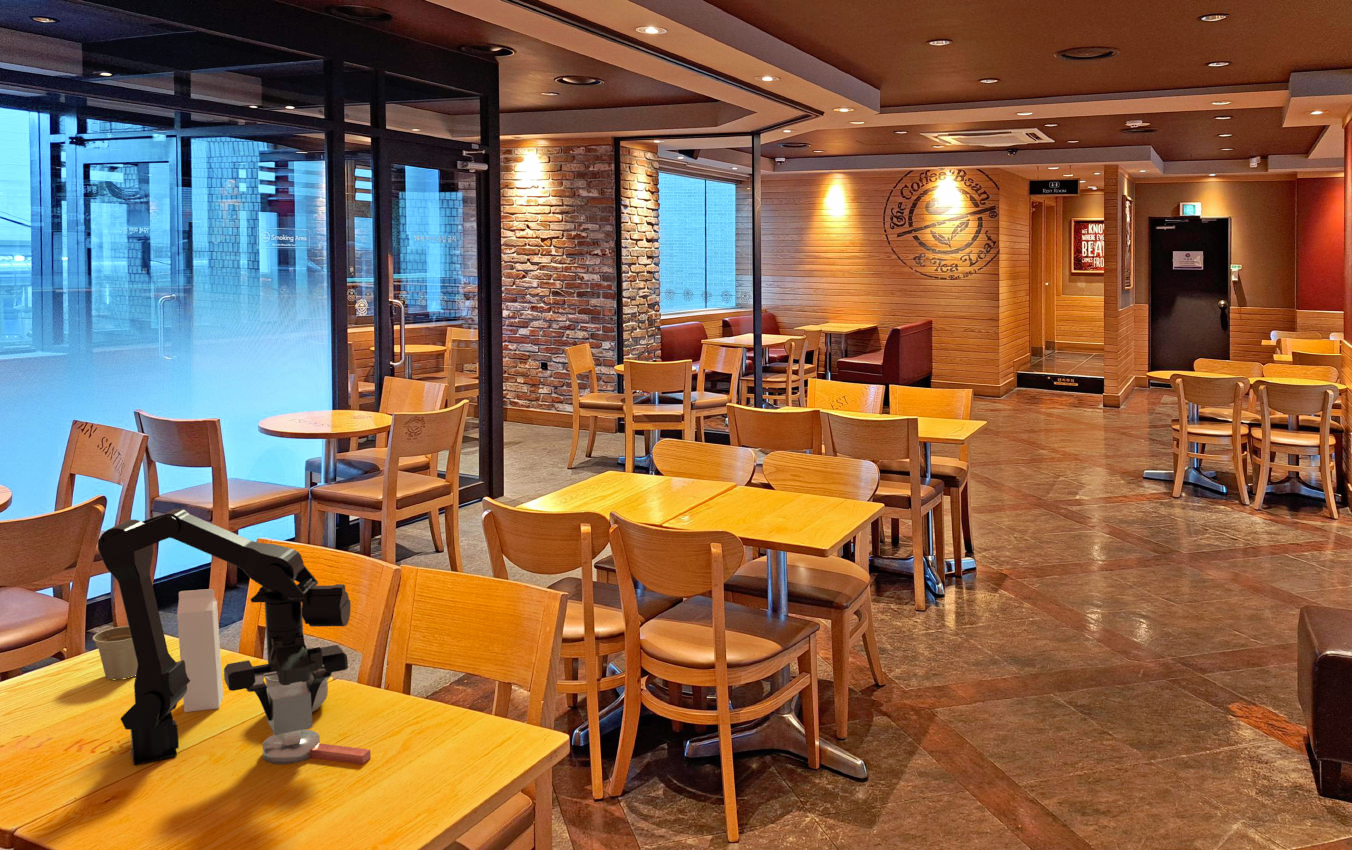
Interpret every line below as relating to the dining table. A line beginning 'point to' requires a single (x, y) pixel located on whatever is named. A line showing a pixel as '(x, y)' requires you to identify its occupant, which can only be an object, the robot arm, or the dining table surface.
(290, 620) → the robot arm
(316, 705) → the teacup
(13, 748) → the dining table surface
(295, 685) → the matte grey cube
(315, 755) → the pan with red handle
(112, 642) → the flower pot
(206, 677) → the milk
